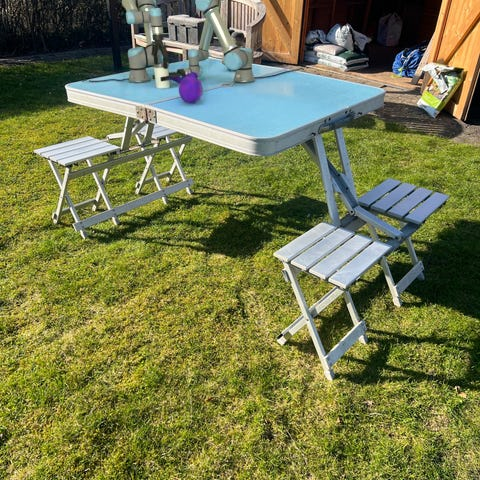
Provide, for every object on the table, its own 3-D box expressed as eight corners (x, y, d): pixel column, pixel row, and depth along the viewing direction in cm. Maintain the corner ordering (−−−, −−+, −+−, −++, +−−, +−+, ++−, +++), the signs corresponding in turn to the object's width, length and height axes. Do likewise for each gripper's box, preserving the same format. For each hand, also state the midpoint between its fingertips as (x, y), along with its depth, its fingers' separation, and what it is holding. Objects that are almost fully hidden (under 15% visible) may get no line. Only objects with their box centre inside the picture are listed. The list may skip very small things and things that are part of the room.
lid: (149, 67, 311) (149, 64, 310) (159, 64, 319) (159, 61, 319) (162, 68, 306) (162, 65, 305) (172, 65, 315) (171, 62, 314)
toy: (192, 94, 296) (203, 108, 275) (166, 89, 289) (175, 104, 268) (197, 69, 288) (208, 82, 267) (170, 64, 281) (180, 77, 260)
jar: (167, 84, 326) (165, 62, 318) (172, 87, 318) (169, 64, 310) (154, 86, 322) (151, 63, 314) (158, 88, 314) (155, 66, 307)
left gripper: (144, 32, 309) (147, 66, 320) (161, 35, 292) (165, 70, 303) (153, 32, 313) (157, 64, 324) (171, 34, 296) (174, 69, 307)
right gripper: (192, 81, 321) (165, 86, 309) (175, 77, 336) (149, 81, 324) (191, 70, 317) (164, 74, 305) (174, 66, 332) (148, 70, 320)
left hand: (161, 67), depth 313 cm, fingers open, 12 cm apart
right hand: (156, 78), depth 314 cm, fingers closed on jar, 10 cm apart
